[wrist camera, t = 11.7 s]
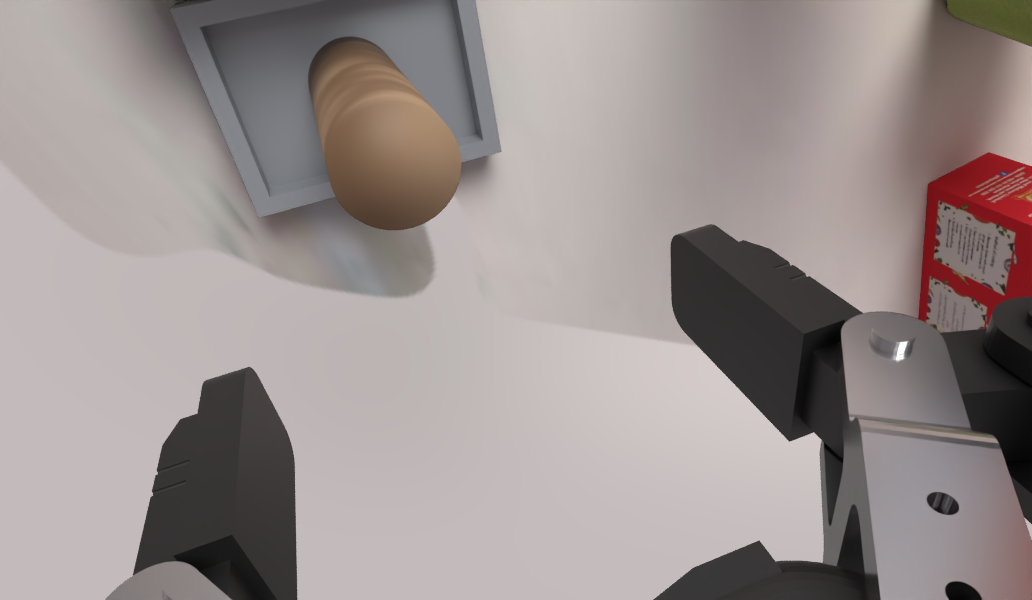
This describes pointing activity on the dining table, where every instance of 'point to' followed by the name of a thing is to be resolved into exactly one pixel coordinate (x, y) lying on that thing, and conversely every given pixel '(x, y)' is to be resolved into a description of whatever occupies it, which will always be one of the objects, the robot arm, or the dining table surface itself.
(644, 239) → the dining table surface
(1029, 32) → the plant pot
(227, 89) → the tray
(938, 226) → the food packaging
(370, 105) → the wooden dowel
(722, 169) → the dining table surface
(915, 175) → the dining table surface
